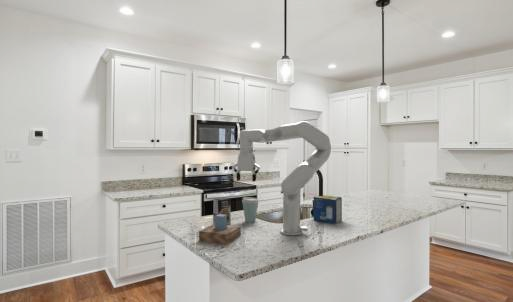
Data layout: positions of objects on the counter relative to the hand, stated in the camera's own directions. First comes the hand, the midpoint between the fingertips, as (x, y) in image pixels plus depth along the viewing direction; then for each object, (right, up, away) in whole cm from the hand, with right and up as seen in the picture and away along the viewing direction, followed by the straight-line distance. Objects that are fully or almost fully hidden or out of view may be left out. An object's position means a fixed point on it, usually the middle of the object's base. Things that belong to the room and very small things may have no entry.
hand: (246, 180), depth 169 cm
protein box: (+52, -29, +22) cm, 63 cm away
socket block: (-13, -29, -16) cm, 35 cm away
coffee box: (-15, -28, +11) cm, 34 cm away
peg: (-13, -29, -16) cm, 35 cm away
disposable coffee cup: (+2, -28, +19) cm, 34 cm away
